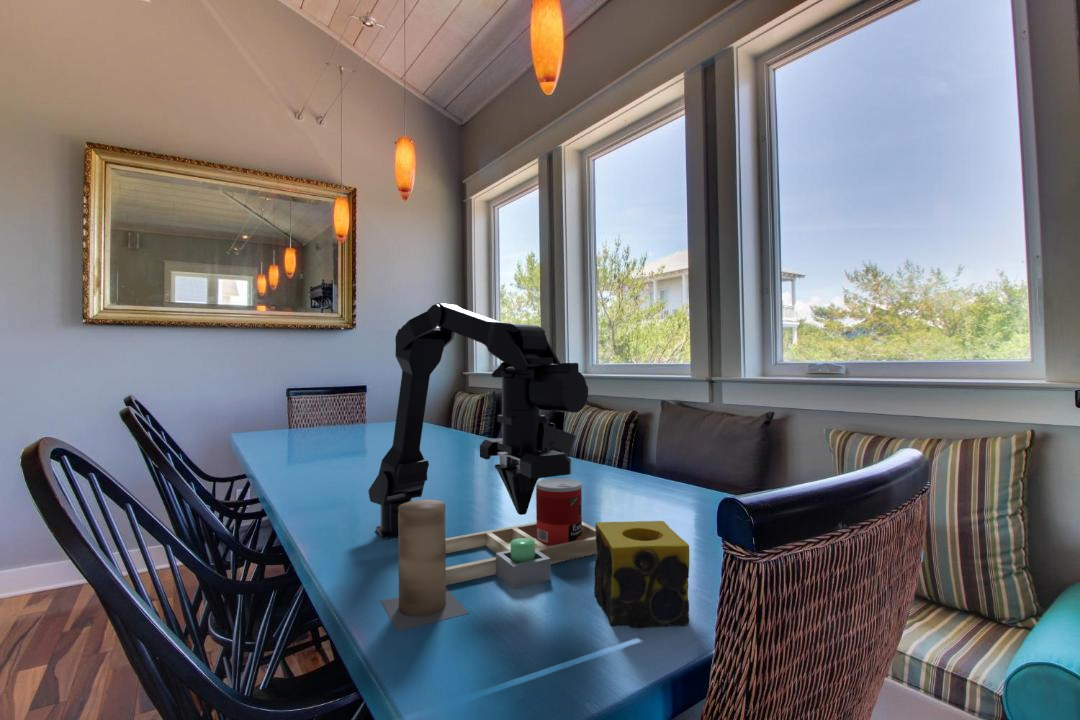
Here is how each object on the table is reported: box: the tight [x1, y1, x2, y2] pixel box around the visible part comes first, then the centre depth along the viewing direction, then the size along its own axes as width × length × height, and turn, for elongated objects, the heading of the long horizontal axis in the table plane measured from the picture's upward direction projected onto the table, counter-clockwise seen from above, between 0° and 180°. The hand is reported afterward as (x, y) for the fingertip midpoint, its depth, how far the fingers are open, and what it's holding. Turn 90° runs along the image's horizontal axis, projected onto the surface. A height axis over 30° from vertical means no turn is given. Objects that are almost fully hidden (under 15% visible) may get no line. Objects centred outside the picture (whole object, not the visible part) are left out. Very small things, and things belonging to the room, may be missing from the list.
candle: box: [593, 520, 690, 629], centre depth 67 cm, size 10×10×10 cm
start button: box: [511, 538, 535, 564], centre depth 76 cm, size 4×4×3 cm
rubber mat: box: [380, 586, 470, 633], centre depth 67 cm, size 9×9×1 cm
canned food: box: [535, 477, 583, 546], centre depth 90 cm, size 8×8×11 cm
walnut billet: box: [397, 499, 447, 617], centre depth 68 cm, size 6×6×13 cm
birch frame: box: [445, 521, 597, 586], centre depth 86 cm, size 13×30×2 cm, turn 119°
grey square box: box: [495, 549, 552, 590], centre depth 76 cm, size 6×6×4 cm
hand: (521, 514), depth 76 cm, fingers closed
